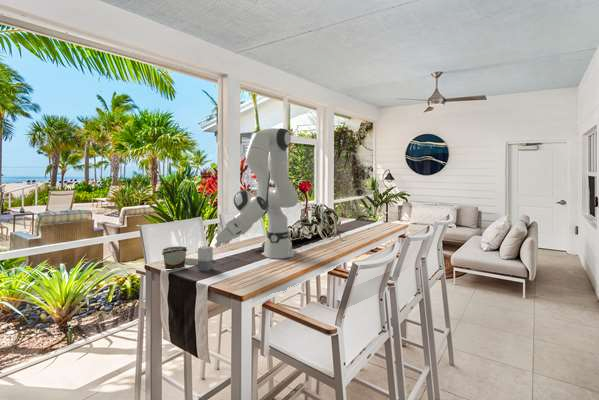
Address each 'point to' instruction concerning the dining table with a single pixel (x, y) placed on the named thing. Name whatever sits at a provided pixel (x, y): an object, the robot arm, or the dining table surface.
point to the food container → (174, 257)
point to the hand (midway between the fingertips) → (221, 244)
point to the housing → (205, 258)
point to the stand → (192, 259)
